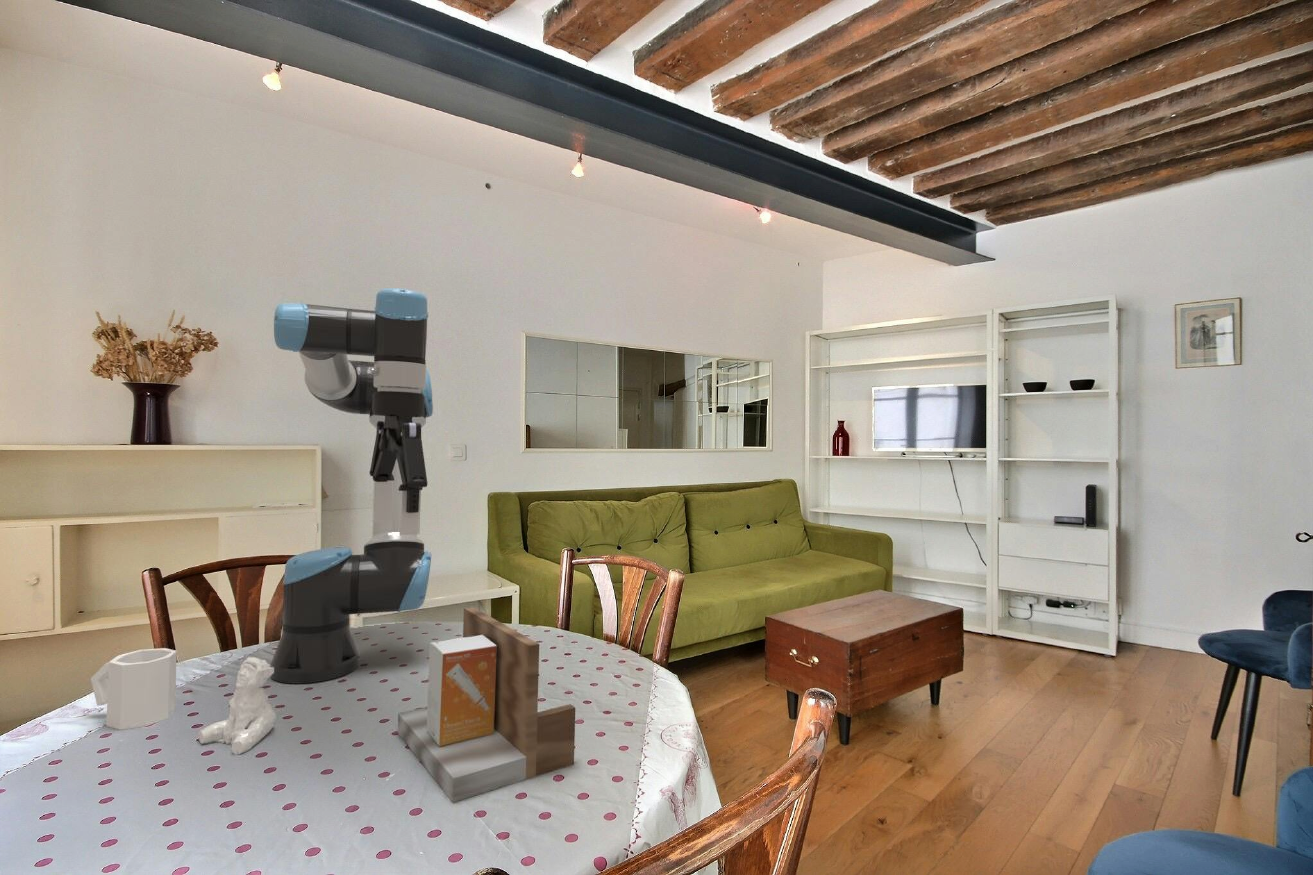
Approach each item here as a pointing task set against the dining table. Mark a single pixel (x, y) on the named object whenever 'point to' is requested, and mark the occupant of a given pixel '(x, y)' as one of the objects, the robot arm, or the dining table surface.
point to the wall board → (498, 724)
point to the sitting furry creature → (245, 710)
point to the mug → (137, 688)
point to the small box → (461, 689)
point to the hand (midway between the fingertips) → (394, 527)
